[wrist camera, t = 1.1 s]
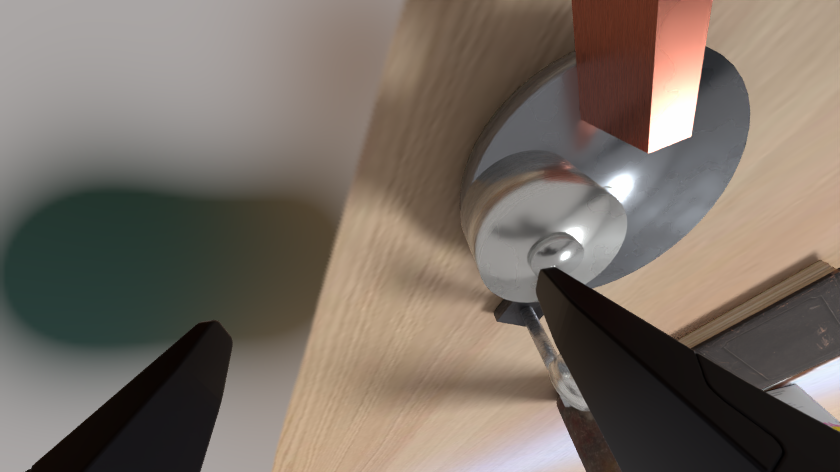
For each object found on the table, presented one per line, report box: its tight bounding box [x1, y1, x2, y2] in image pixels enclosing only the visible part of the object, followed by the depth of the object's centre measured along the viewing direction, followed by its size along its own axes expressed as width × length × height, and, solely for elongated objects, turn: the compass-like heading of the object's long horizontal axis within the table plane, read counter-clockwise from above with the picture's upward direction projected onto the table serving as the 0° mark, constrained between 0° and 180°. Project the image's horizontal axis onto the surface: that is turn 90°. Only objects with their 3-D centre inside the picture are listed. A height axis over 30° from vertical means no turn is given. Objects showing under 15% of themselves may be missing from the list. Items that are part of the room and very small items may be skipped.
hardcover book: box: [677, 260, 840, 389], centre depth 37 cm, size 16×23×2 cm
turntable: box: [460, 0, 750, 289], centre depth 16 cm, size 16×16×6 cm
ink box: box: [766, 384, 840, 432], centre depth 47 cm, size 9×8×12 cm
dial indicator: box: [494, 299, 590, 411], centre depth 23 cm, size 4×6×10 cm, turn 158°
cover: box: [460, 150, 627, 303], centre depth 15 cm, size 7×7×5 cm
